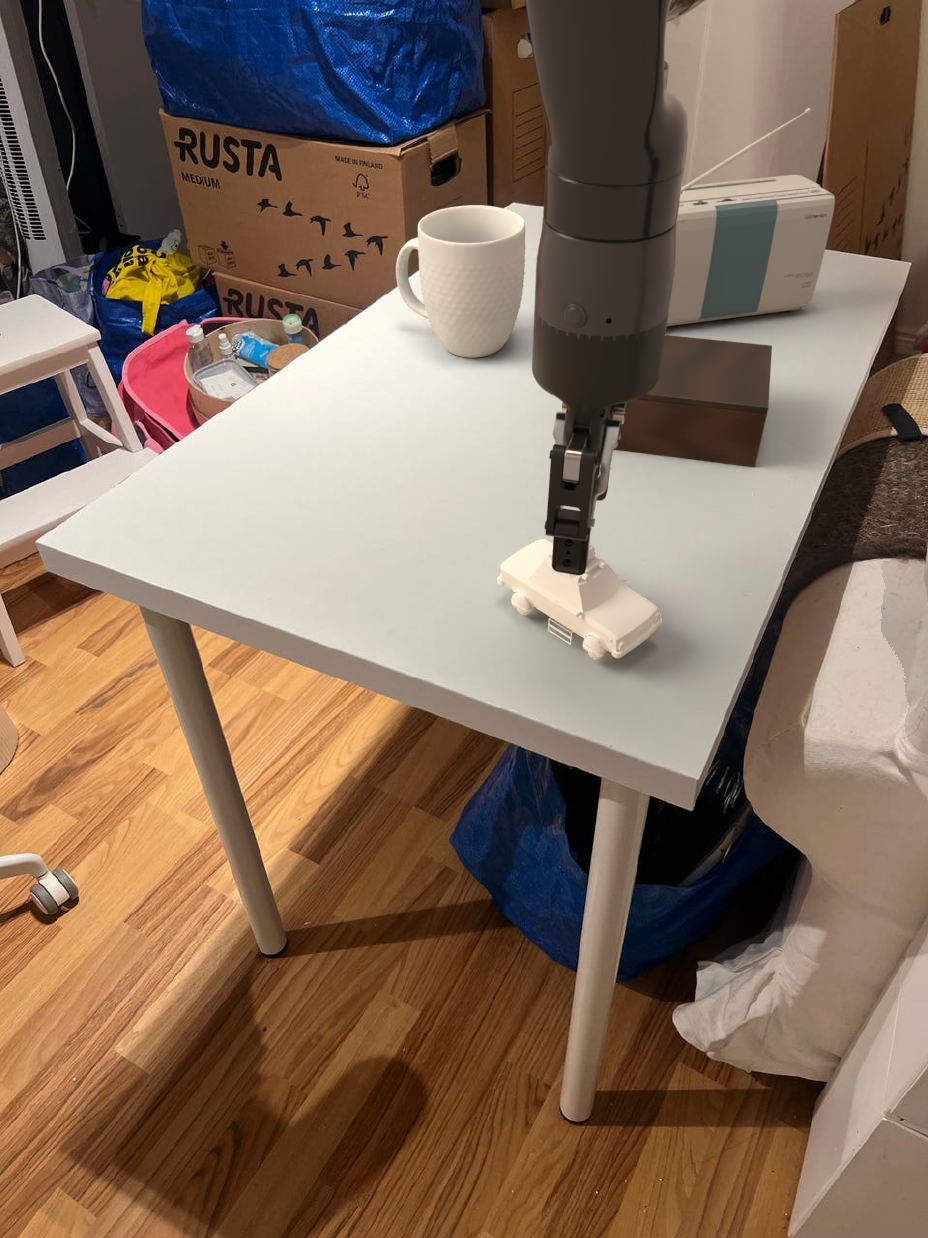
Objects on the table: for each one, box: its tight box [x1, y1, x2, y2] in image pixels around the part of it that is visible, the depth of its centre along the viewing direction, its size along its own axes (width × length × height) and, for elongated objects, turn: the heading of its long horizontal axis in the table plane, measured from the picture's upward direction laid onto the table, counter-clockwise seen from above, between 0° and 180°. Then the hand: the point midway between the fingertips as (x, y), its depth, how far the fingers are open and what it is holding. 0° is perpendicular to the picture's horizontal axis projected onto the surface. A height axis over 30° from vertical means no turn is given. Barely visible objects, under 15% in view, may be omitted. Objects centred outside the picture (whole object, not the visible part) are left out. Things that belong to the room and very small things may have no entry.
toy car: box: [496, 538, 663, 661], centre depth 65 cm, size 6×12×7 cm, turn 44°
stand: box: [614, 334, 773, 468], centre depth 86 cm, size 14×12×6 cm
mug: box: [395, 204, 526, 359], centre depth 97 cm, size 15×11×13 cm
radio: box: [667, 107, 836, 327], centre depth 99 cm, size 21×8×20 cm, turn 103°
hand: (580, 531), depth 62 cm, fingers open, 8 cm apart
